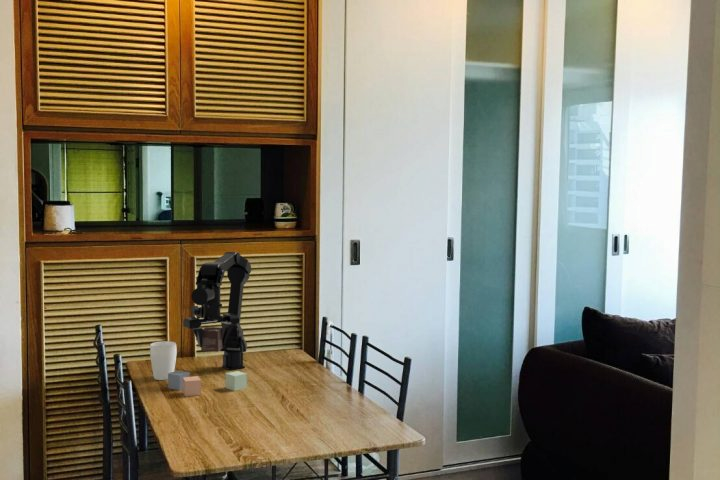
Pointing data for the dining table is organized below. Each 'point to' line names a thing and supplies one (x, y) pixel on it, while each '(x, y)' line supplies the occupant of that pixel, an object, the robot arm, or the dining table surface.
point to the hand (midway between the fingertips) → (211, 345)
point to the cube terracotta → (191, 386)
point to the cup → (163, 358)
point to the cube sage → (236, 380)
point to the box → (212, 339)
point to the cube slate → (177, 379)
